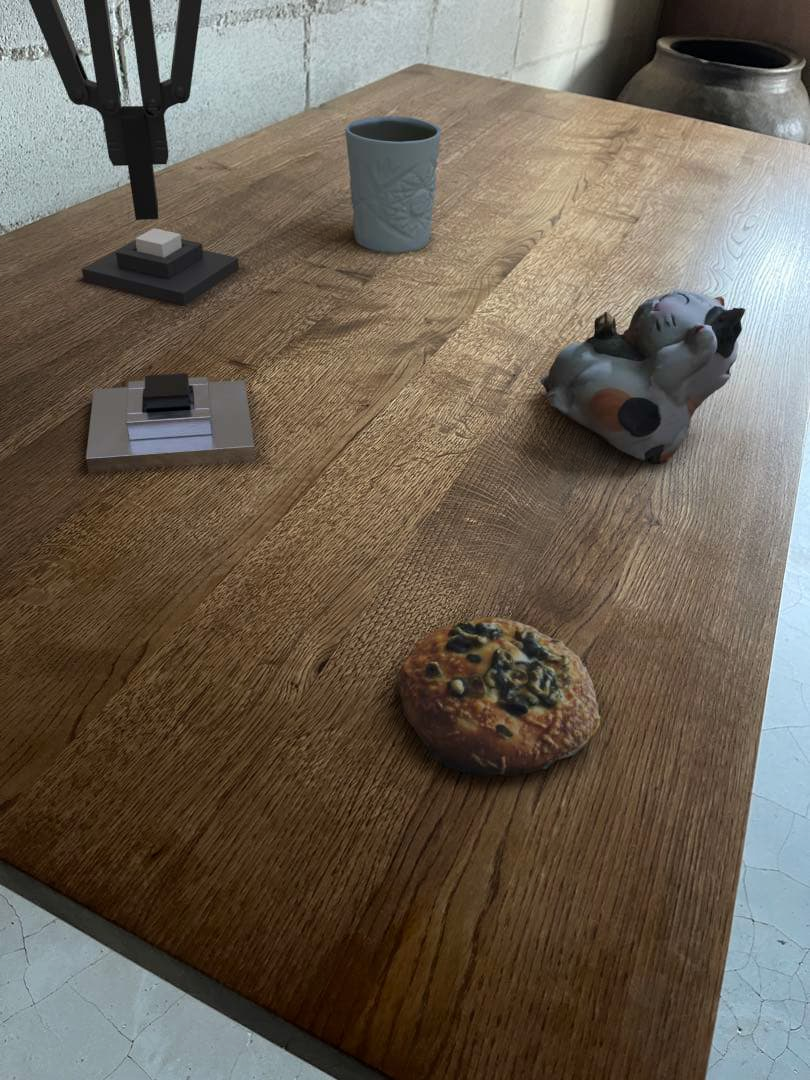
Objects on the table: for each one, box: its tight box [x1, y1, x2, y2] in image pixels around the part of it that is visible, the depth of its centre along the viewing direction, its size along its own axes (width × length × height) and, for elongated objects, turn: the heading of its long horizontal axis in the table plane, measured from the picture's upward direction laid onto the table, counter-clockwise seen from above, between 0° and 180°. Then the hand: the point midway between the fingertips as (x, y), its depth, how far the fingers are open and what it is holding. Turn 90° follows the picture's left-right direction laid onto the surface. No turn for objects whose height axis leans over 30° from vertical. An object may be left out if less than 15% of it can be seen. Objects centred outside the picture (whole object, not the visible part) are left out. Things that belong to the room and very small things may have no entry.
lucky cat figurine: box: [539, 288, 746, 464], centre depth 72 cm, size 15×12×14 cm
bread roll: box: [398, 617, 602, 778], centre depth 50 cm, size 11×11×5 cm
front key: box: [144, 372, 191, 413], centre depth 70 cm, size 3×3×2 cm
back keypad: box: [81, 238, 240, 306], centre depth 93 cm, size 12×10×3 cm
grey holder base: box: [85, 376, 256, 474], centre depth 71 cm, size 12×10×3 cm
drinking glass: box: [344, 115, 442, 254], centre depth 101 cm, size 10×10×12 cm
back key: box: [134, 227, 182, 258], centre depth 92 cm, size 3×3×2 cm
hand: (147, 212), depth 63 cm, fingers closed
